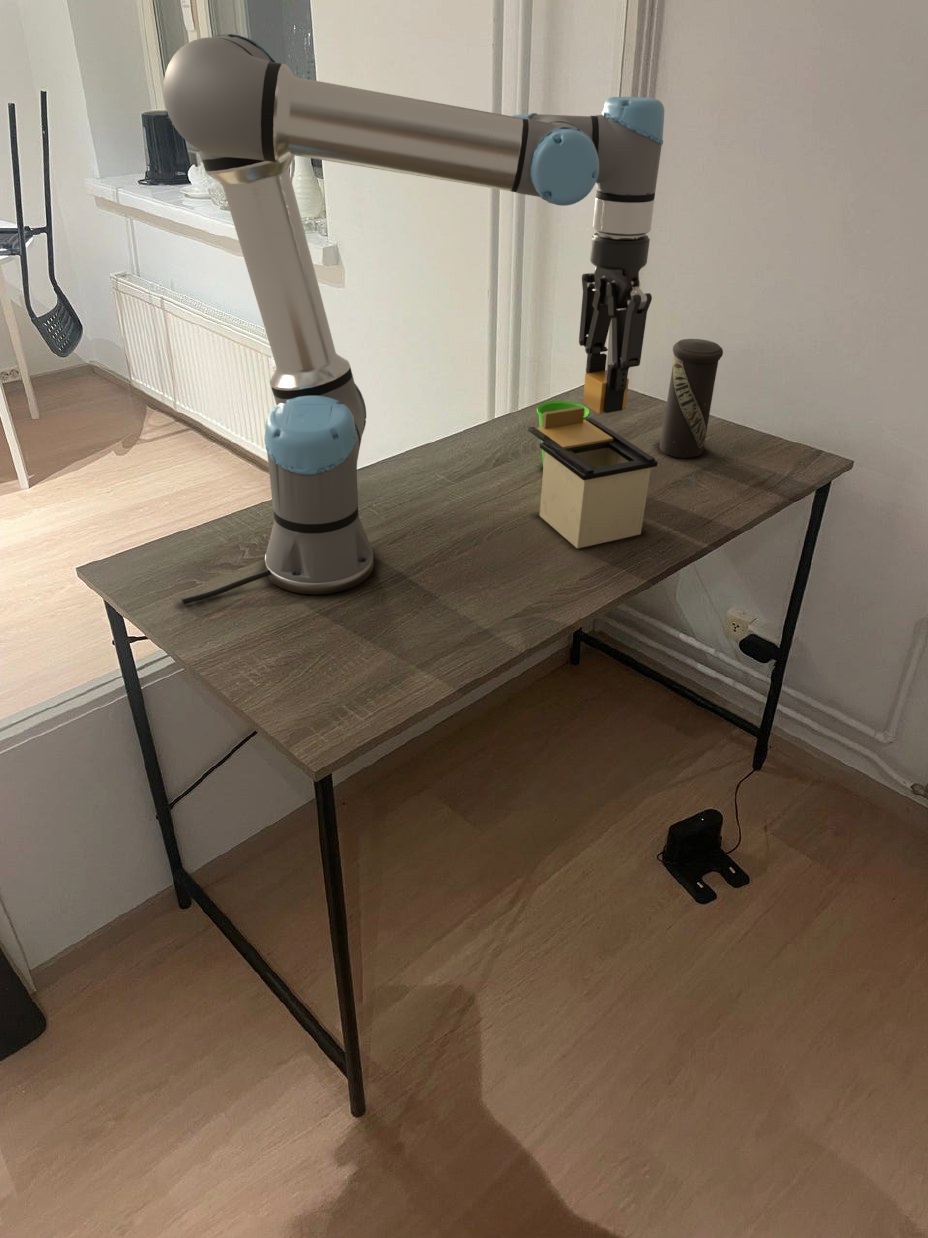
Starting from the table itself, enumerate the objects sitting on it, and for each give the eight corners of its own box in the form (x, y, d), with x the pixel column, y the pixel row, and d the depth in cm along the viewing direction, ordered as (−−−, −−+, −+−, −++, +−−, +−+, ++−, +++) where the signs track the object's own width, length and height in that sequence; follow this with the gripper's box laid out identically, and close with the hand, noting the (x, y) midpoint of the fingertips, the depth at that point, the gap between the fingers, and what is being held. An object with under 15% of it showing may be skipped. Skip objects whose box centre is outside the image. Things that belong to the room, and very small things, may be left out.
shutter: (562, 449, 137) (564, 431, 135) (536, 429, 143) (537, 412, 141) (613, 440, 140) (615, 423, 139) (584, 421, 146) (586, 405, 145)
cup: (585, 481, 157) (592, 420, 151) (533, 479, 157) (537, 419, 151) (581, 459, 164) (587, 401, 158) (531, 458, 164) (535, 399, 158)
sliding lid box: (575, 551, 136) (584, 471, 129) (520, 502, 149) (525, 427, 142) (646, 535, 141) (658, 457, 134) (586, 489, 154) (594, 416, 147)
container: (654, 455, 167) (671, 346, 156) (660, 437, 174) (676, 332, 163) (702, 462, 165) (722, 352, 154) (706, 443, 172) (726, 337, 161)
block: (599, 414, 130) (602, 383, 127) (582, 403, 133) (585, 373, 130) (625, 409, 131) (629, 378, 129) (608, 399, 135) (611, 369, 132)
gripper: (685, 244, 114) (659, 421, 127) (608, 219, 127) (592, 382, 140) (636, 249, 111) (614, 430, 124) (562, 222, 124) (549, 388, 137)
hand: (602, 404), depth 132 cm, fingers closed on block, 4 cm apart
